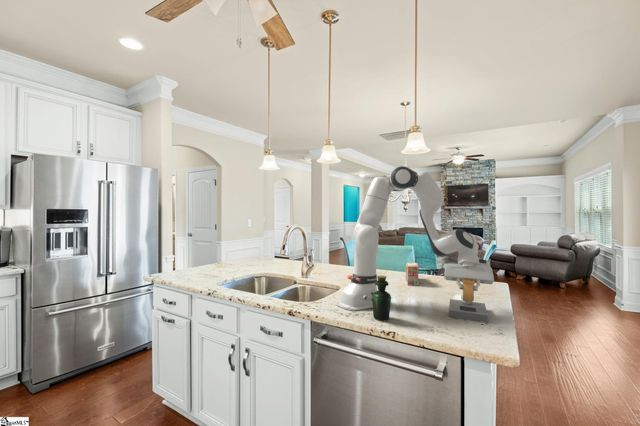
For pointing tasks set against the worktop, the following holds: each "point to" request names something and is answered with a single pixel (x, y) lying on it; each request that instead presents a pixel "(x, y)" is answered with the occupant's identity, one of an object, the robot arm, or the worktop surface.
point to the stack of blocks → (412, 274)
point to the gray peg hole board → (468, 310)
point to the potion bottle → (381, 300)
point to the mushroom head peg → (468, 289)
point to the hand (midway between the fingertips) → (468, 289)
